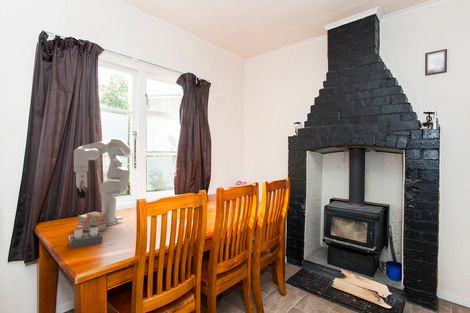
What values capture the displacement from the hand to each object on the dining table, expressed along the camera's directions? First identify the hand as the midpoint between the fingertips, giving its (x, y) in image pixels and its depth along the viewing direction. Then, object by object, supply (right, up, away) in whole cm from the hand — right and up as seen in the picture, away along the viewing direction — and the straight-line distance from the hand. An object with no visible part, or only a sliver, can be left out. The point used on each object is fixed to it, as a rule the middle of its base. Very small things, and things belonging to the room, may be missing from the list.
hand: (81, 196), depth 152 cm
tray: (0, -26, -2) cm, 26 cm away
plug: (+6, -25, -13) cm, 29 cm away
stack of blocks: (-2, -26, +16) cm, 30 cm away
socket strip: (+9, -26, -11) cm, 30 cm away
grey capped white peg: (+12, -25, -9) cm, 29 cm away
